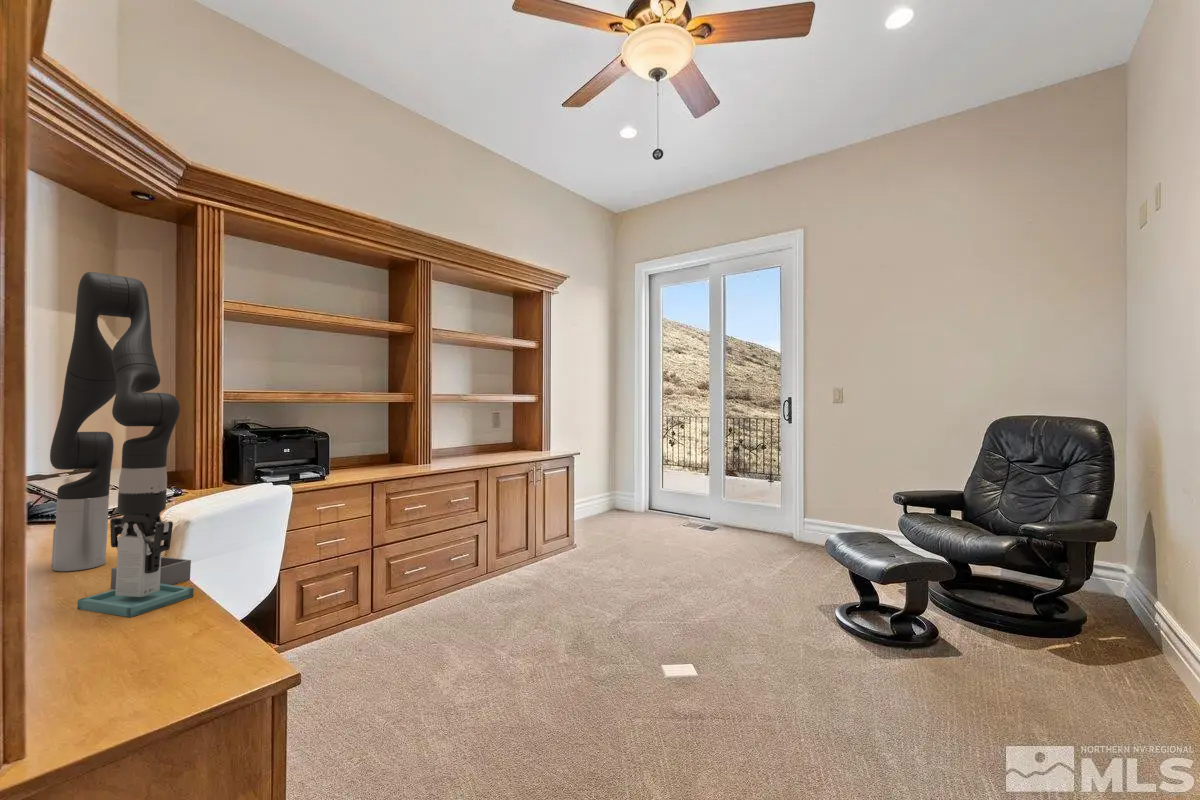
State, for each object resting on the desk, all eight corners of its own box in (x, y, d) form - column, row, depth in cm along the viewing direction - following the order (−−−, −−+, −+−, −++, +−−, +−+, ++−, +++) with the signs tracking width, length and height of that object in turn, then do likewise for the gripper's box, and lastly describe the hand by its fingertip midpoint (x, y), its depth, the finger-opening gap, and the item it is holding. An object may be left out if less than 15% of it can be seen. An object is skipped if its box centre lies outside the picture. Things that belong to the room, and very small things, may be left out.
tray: (77, 608, 103) (77, 599, 103) (143, 589, 115) (144, 581, 115) (130, 617, 100) (131, 607, 100) (193, 596, 111) (193, 588, 111)
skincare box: (160, 590, 109) (163, 533, 109) (140, 598, 105) (143, 538, 105) (134, 588, 110) (137, 531, 110) (113, 596, 106) (116, 536, 106)
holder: (110, 589, 114) (111, 568, 114) (159, 575, 124) (160, 556, 124) (142, 593, 112) (143, 572, 112) (190, 579, 122) (190, 560, 122)
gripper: (96, 489, 106) (91, 572, 106) (149, 494, 102) (145, 579, 102) (137, 484, 113) (133, 562, 113) (188, 488, 110) (184, 569, 109)
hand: (138, 570), depth 107 cm, fingers closed on skincare box, 6 cm apart
